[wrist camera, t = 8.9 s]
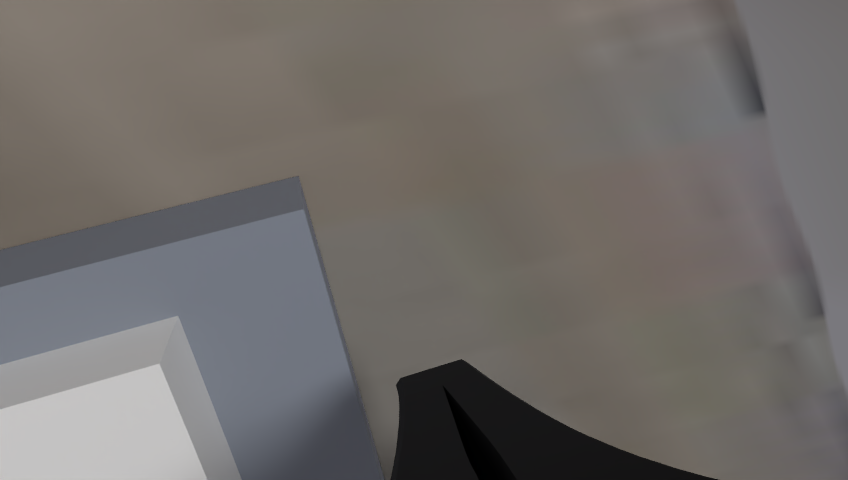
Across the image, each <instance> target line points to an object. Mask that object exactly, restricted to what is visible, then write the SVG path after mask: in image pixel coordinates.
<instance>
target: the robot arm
mask: <svg viewBox="0 0 848 480" xmlns="http://www.w3.org/2000/svg"><path fill="white" fill-rule="evenodd" d="M396 387H397V390H398V394H399V429H398V439H397V448H396V455H395V460H394V466H393V471H392V476H391V480H718V479H713V478H709V477H705V476H702V475H698V474H694V473H691V472H687V471H683V470H680V469H676V468H673V467H670V466H667V465H664V464H661V463H658V462H655V461H652V460H649V459H646V458H642V457H639V456H637V455H634V454H631V453H629V452H626V451H623V450H620V449H618V448H616V447H613V446H611V445H608V444H606V443H604V442H601V441H599V440H597V439H594V438H592V437H589V436H587V435H585V434H583V433H581V432H578V431H576V430H574V429H572V428H570V427H568V426H566V425H564V424H563V423H561V422H559V421H557V420H555V419H553V418H551V417H550V416H548V415H546V414H544V413H543V412H541V411H539V410H537V409H536V408H534V407H532V406H531V405H529V404H528V403H526V402H524V401H523V400H521V399H519V398H518V397H516V396H515V395H513V394H511V393H510V392H508V391H507V390H505V389H504V388H502V387H501V386H500V385H498V384H497V383H495V382H494V381H492V380H491V379H489V378H488V377H487V376H485V375H484V374H482V373H481V372H480V371H478V370H477V369H476V368H474V367H473V366H471V365H470V364H469V363H467V362H465V361H464V360H462V359H461V360H457V361H454V362H451V363H448V364H444V365H441V366H438V367H435V368H432V369H428V370H425V371H422V372H419V373H415V374H412V375H409V376H406V377H403V378H400V380H399V381H398V383H397V384H396Z"/></svg>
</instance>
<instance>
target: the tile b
mask: <svg viewBox="0 0 848 480" xmlns="http://www.w3.org/2000/svg"><path fill="white" fill-rule="evenodd" d="M0 480H242V479H241V476H240V474H239V471H238V469H237V466H236V464H235V461H234V458H233V456H232V453H231V451H230V448H229V446H228V443H227V440H226V438H225V435H224V433H223V430H222V427H221V425H220V422H219V420H218V417H217V415H216V412H215V409H214V407H213V404H212V402H211V399H210V397H209V394H208V391H207V389H206V386H205V384H204V381H203V379H202V376H201V373H200V371H199V368H198V366H197V363H196V360H195V358H194V355H193V353H192V350H191V348H190V345H189V342H188V340H187V337H186V335H185V332H184V330H183V327H182V324H181V322H180V319H179V317H178V316H175V317H172V318H168V319H164V320H161V321H157V322H153V323H150V324H146V325H143V326H139V327H135V328H132V329H128V330H125V331H121V332H117V333H114V334H110V335H106V336H103V337H99V338H96V339H92V340H88V341H85V342H81V343H78V344H74V345H70V346H67V347H63V348H59V349H56V350H52V351H49V352H45V353H41V354H38V355H34V356H31V357H27V358H23V359H20V360H16V361H13V362H9V363H5V364H2V365H0Z"/></svg>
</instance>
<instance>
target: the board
mask: <svg viewBox="0 0 848 480" xmlns="http://www.w3.org/2000/svg"><path fill="white" fill-rule="evenodd" d="M175 316H178V317H179V319H180V322H181V324H182V327H183V330H184V332H185V335H186V337H187V340H188V342H189V345H190V348H191V350H192V353H193V355H194V358H195V360H196V363H197V366H198V368H199V371H200V373H201V376H202V379H203V381H204V384H205V386H206V389H207V391H208V394H209V397H210V399H211V402H212V404H213V407H214V409H215V412H216V415H217V417H218V420H219V422H220V425H221V427H222V430H223V433H224V435H225V438H226V440H227V443H228V446H229V448H230V451H231V453H232V456H233V458H234V461H235V464H236V466H237V469H238V471H239V474H240V476H241V479H242V480H384V476H383V473H382V469H381V466H380V462H379V459H378V455H377V451H376V448H375V444H374V441H373V437H372V434H371V430H370V427H369V423H368V420H367V416H366V413H365V409H364V406H363V402H362V399H361V395H360V391H359V388H358V384H357V381H356V377H355V374H354V370H353V367H352V363H351V360H350V356H349V353H348V349H347V346H346V342H345V339H344V335H343V331H342V328H341V324H340V321H339V317H338V314H337V310H336V307H335V303H334V300H333V296H332V293H331V289H330V286H329V282H328V278H327V275H326V271H325V268H324V264H323V261H322V257H321V254H320V250H319V247H318V243H317V240H316V236H315V233H314V229H313V226H312V222H311V218H310V215H309V211H308V208H307V204H306V201H305V197H304V194H303V190H302V187H301V183H300V180H299V176H296V177H292V178H288V179H284V180H280V181H276V182H272V183H268V184H264V185H260V186H256V187H252V188H248V189H244V190H240V191H236V192H232V193H228V194H224V195H220V196H216V197H212V198H208V199H204V200H200V201H196V202H192V203H188V204H184V205H180V206H176V207H172V208H168V209H164V210H160V211H156V212H152V213H148V214H144V215H139V216H135V217H131V218H127V219H123V220H119V221H115V222H111V223H107V224H103V225H99V226H95V227H91V228H87V229H83V230H79V231H75V232H71V233H67V234H63V235H59V236H55V237H51V238H47V239H43V240H39V241H35V242H31V243H27V244H23V245H19V246H15V247H11V248H7V249H3V250H0V365H2V364H5V363H9V362H13V361H16V360H20V359H23V358H27V357H31V356H34V355H38V354H41V353H45V352H49V351H52V350H56V349H59V348H63V347H67V346H70V345H74V344H78V343H81V342H85V341H88V340H92V339H96V338H99V337H103V336H106V335H110V334H114V333H117V332H121V331H125V330H128V329H132V328H135V327H139V326H143V325H146V324H150V323H153V322H157V321H161V320H164V319H168V318H172V317H175Z"/></svg>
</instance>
